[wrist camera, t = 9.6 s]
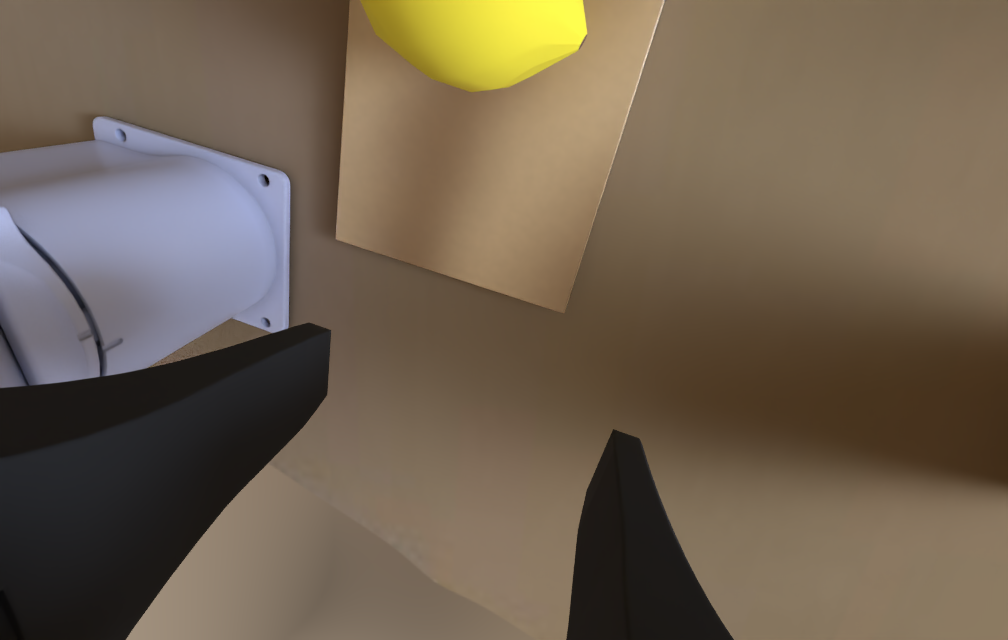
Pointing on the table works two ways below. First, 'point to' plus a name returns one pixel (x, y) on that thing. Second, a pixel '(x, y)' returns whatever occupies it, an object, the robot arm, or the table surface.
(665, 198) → the table surface
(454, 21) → the lemon
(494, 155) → the birch board
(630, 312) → the table surface
